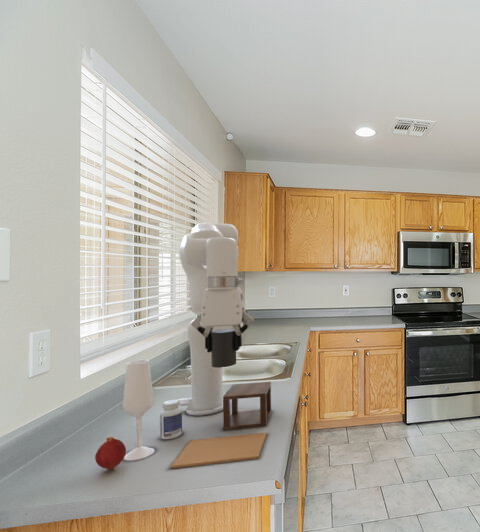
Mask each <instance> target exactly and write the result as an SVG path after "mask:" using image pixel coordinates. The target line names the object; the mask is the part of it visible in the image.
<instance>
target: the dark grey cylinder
mask: <svg viewBox="0 0 480 532" xmlns="http://www.w3.org/2000/svg"><path fill="white" fill-rule="evenodd" d="M234 336H236V332H235V330H233V329H227V330H217V331H212V332H211V360H212V367H216V368H220V367H222V368H227V367H232V366H235V365H236V364H237V351H235V350H234Z"/></svg>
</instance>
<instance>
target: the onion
mask: <svg viewBox="0 0 480 532" xmlns="http://www.w3.org/2000/svg"><path fill="white" fill-rule="evenodd" d="M126 454H127V448H126V445H125V443H124V442H123V441H121V440H120V439H117V438H115V437H113V436H109V437H107V438H106V441H105V442H103V443H102V444H101V445H100V446H99V448H98V449H97V451H96V453H95V456H94V459H95V460H94V461H95V463H96V464H97V465H98V467H100V468H102V469H106V470H107V471H113V470H114V469H115V468H116V467H118V466H119V465H120V464H121V463H122V462H123V460H124V457H125V455H126Z"/></svg>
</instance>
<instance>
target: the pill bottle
mask: <svg viewBox="0 0 480 532" xmlns="http://www.w3.org/2000/svg"><path fill="white" fill-rule="evenodd" d="M159 416H160V417H159V426H160V427H159V430H160V438H161V439H162V440H171V439H175V438H177V437H179V436H181V435H182V434H183V408H182V407H181V406H180V405H179V399H169V400H166V401H164V402H163V403H162V410H161V411H160V413H159Z"/></svg>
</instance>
